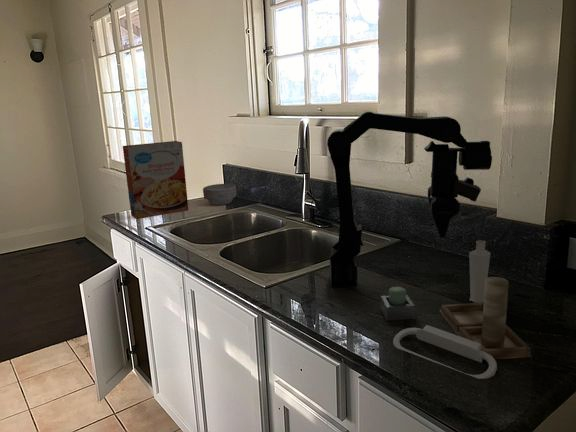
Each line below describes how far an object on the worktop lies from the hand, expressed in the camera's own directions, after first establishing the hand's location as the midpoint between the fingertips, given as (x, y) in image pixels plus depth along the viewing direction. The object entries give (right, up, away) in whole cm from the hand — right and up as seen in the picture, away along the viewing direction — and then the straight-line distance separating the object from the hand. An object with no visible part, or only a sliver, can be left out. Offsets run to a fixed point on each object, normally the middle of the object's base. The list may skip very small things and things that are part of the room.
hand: (440, 231), depth 124 cm
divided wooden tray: (+1, -20, -24) cm, 31 cm away
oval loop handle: (-9, -23, -31) cm, 40 cm away
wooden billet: (+1, -21, -29) cm, 36 cm away
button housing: (-14, -18, -14) cm, 27 cm away
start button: (-14, -16, -15) cm, 26 cm away
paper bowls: (-69, +10, +107) cm, 128 cm away
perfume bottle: (+6, -17, -9) cm, 20 cm away
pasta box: (-94, +5, +93) cm, 132 cm away
